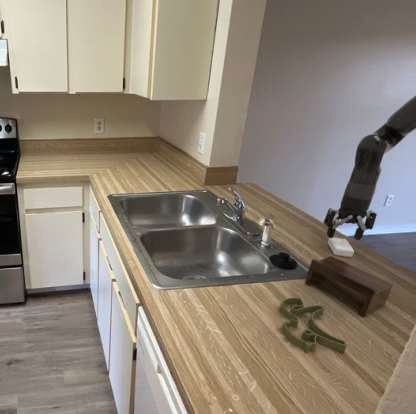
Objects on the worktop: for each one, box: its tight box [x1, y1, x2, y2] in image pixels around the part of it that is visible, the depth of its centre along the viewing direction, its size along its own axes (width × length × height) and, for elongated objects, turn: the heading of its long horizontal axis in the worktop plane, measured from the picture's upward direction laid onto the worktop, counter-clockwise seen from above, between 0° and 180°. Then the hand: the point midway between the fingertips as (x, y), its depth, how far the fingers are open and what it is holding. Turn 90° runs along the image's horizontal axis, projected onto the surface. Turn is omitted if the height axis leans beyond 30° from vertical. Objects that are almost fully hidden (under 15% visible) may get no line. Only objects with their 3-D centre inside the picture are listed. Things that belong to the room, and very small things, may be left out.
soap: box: [327, 237, 355, 258], centre depth 116 cm, size 9×6×3 cm, turn 160°
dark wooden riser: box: [304, 255, 394, 318], centre depth 93 cm, size 10×16×8 cm, turn 27°
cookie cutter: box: [280, 297, 347, 354], centre depth 82 cm, size 18×12×2 cm, turn 168°
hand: (343, 238), depth 114 cm, fingers open, 8 cm apart
